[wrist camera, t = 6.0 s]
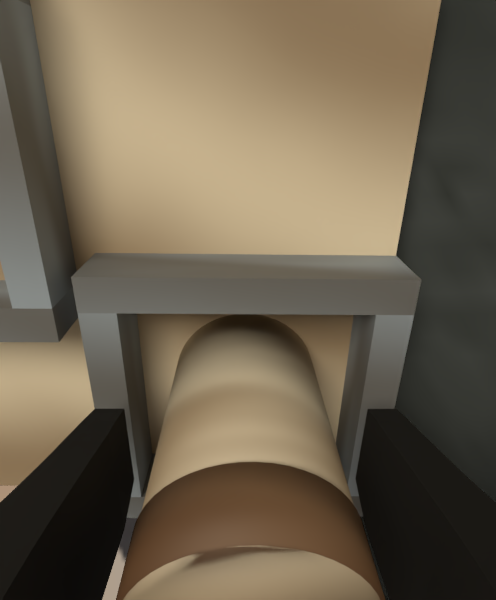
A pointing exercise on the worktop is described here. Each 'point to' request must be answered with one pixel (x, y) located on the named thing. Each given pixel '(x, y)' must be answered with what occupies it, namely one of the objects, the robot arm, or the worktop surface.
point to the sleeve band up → (247, 480)
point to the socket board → (201, 202)
